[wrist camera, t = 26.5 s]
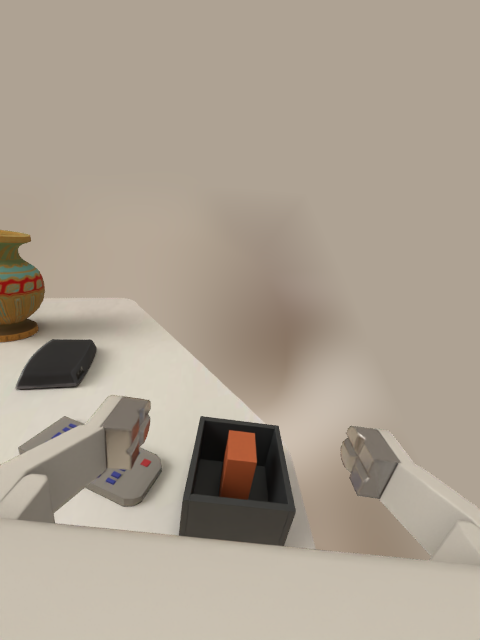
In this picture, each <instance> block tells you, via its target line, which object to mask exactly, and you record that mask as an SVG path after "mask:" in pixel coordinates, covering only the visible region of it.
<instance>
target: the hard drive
mask: <svg viewBox="0 0 480 640" xmlns="http://www.w3.org/2000/svg"><path fill="white" fill-rule="evenodd" d="M95 352H96V346H95V344H94V343H93V341H92V340H55V339H52V340H51V341H49V342H48V343H46V344H45V345H43V346H42V347H41V348H40V349H39V350H38V351H37V352H36V353H35V354H34V355H33V356H32V357H31V358H30V359H29V361H28V362H27V364H26V365H25V367H24V369H23V371H22V373H21V375H20V377H19V379H18V382H17V385H16V388H15V389H25V388H46V387H66V386H77V385H78V384H79V383H80V381H81V380H82V378H83V377H84V375H85V374H86V372H87V371H88V369H89V367H90V365H91V363H92V361H93V358H94V356H95Z"/></svg>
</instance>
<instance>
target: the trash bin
mask: <svg viewBox="0 0 480 640" xmlns="http://www.w3.org/2000/svg"><path fill="white" fill-rule="evenodd" d="M229 430H233V431H241V432H249V433H255V442H256V455H257V465H256V469H255V473H254V477H253V481H252V485H251V489H250V493H249V497H248V500H244V499H235V498H225V497H219V488H220V479H221V473H222V467H223V462H224V456H225V451H226V445H227V439H228V434H229ZM295 512H296V511H295V506H294V501H293V496H292V491H291V486H290V481H289V476H288V471H287V466H286V461H285V456H284V451H283V446H282V441H281V436H280V431H279V426H276V425H267V424H259V423H251V422H243V421H235V420H227V419H219V418H211V417H203V416H201V417H200V422H199V427H198V431H197V436H196V441H195V445H194V450H193V455H192V459H191V464H190V468H189V473H188V478H187V482H186V487H185V492H184V496H183V502H182V511H181V521H180V530H179V536H187V537H197V538H207V539H217V540H227V541H237V542H246V543H256V544H266V545H276V546H284V543H285V541H286V538H287V535H288V532H289V529H290V526H291V524H292V521H293V518H294V515H295Z"/></svg>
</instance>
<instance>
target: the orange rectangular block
mask: <svg viewBox="0 0 480 640" xmlns="http://www.w3.org/2000/svg"><path fill="white" fill-rule="evenodd" d="M256 465H257V455H256V442H255V433H249V432H241V431H233V430H229V434H228V439H227V445H226V451H225V456H224V462H223V467H222V473H221V479H220V488H219V497H225V498H235V499H244V500H248V497H249V493H250V489H251V485H252V481H253V477H254V473H255V469H256Z"/></svg>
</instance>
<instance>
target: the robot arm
mask: <svg viewBox="0 0 480 640" xmlns="http://www.w3.org/2000/svg"><path fill="white" fill-rule="evenodd" d="M150 409H151V402H150V401H149V400H145V399H138V398H131V397H125V396H124V397H123V396H117V395H110V396H108V397H107V398H106V399H105V401H104V402H103V403H102V404H101V406H100V407H99V408H98V409H97V410H96V412H95V413H94V414H93V415H92V416H91V418H90V419H89V420H88V421H87V422H86V424H85V425H79V426H77V427H75V428H73V429H71V430H69V431H67V432H65V433H63V434H61V435H59V436H57V437H55V438H53V439H51V440H49V441H47V442H45V443H43V444H41V445H39V446H37V447H35V448H33V449H31V450H29V451H27V452H25V453H23V454H21V455H19V456H17V457H15V458H13V459H11V460H9V461H6V462H4V463H2V464H0V640H480V508H478V507H477V506H475V505H474V504H473V503H471V502H470V501H468V500H467V499H465V498H464V497H463V496H461V495H460V494H459V493H457V492H456V491H454V490H453V489H452V488H450V487H449V486H447V485H446V484H445V483H443V482H442V481H440V480H439V479H438V478H436V477H435V476H433V475H432V474H430V473H429V472H428V471H426V470H425V469H424V468H422V467H421V466H417V465H415V463H414V462H413V461H412V460H411V458H410V457H409V456H408V454H407V453H406V452H405V451H404V449H403V448H402V446H401V445H400V444H399V443H398V441H397V440H396V439H395V437H394V436H393V435H392V433H390V432H389V431H388V430H384V429H373V428H364V427H356V426H350V427H349V428H348V430H347V433H346V434H347V436H348V438H347V439H346V440H345V441H343V442H342V446H341V459H342V462H343V465H344V467H345V468H346V469H347V470H348V471H349V472H350V473H351V474H350V480H351V482H352V485H353V487H354V489H355V491H356V494H357V495H358V496H364V497H371V498H378V499H380V501H381V502H382V503H383V504H384V505H385V506H386V508H387V509H388V510H389V511H390V512H391V513H392V514H393V515H394V516H395V517H396V518H397V520H398V521H399V522H400V523H401V524H402V525H403V526H404V527H405V528H406V529H407V530H408V532H410V533H411V535H412V536H413V537H414V538H415V539H416V540H417V541H418V542H419V543H420V545H421V546H422V547H423V548H424V549H425V550H426V551H427V552H428V553H429V554H430V555H431V558H430V560H429V561H427V560H418V559H408V558H397V557H388V556H377V555H368V554H357V553H346V552H337V551H326V550H317V549H307V548H296V547H286V546H276V545H266V544H256V543H246V542H237V541H227V540H217V539H207V538H197V537H187V536H177V535H167V534H157V533H147V532H137V531H127V530H117V529H107V528H96V527H86V526H76V525H66V524H56V523H55V520H54V514H53V513H55V512H56V511H57V510H58V509H59V508H61V507H62V506H63V505H64V504H65V503H67V502H68V501H69V500H70V499H71V498H73V497H74V496H75V495H76V494H78V493H79V492H80V491H81V490H82V489H84V488H85V487H86V486H87V485H88V484H90V483H91V482H92V481H93V480H94V479H96V478H97V477H98V476H99V475H100V474H102V473H103V472H104V471H105V470H106V468H112V469H124V470H131V469H132V467H133V465H134V463H135V461H136V459H137V457H138V455H139V446H141V445H142V444H143V443H144V442H145V439H146V437H147V434H148V431H149V426H150V417H149V415H148V413H149V411H150Z"/></svg>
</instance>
